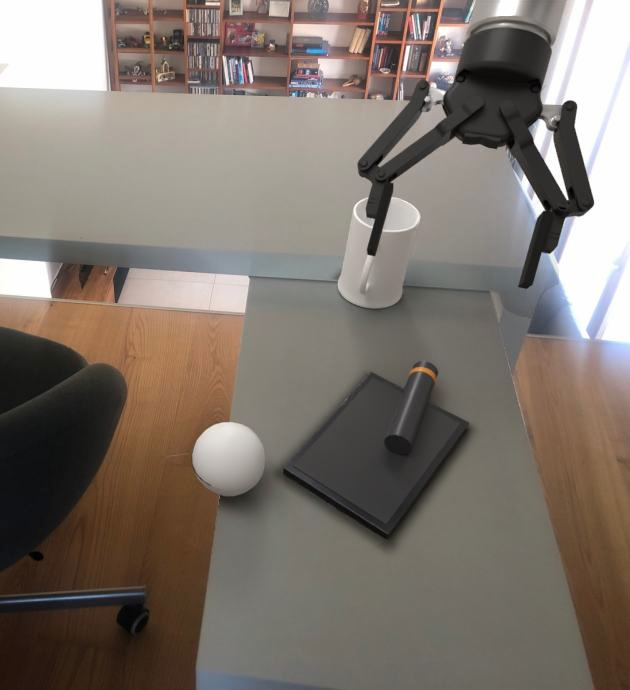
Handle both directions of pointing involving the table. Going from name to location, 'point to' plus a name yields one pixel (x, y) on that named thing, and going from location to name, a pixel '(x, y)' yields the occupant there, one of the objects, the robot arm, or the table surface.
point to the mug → (378, 256)
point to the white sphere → (228, 459)
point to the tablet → (373, 456)
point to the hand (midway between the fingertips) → (445, 269)
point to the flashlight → (411, 408)
